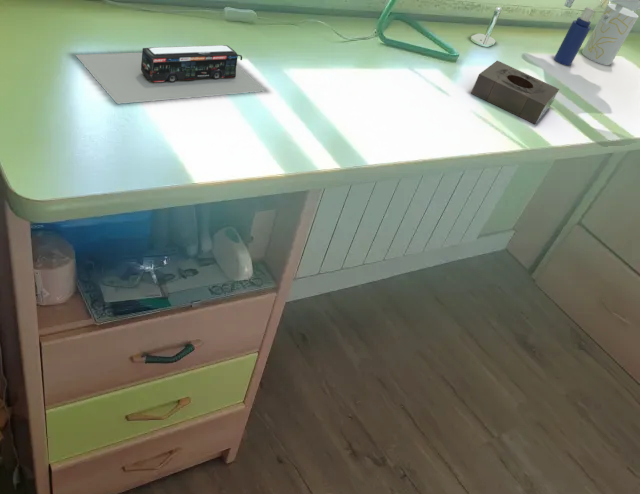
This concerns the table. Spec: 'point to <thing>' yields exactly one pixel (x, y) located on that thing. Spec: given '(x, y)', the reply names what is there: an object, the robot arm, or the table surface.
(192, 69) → the toy bus on base
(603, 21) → the robot arm
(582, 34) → the bottle
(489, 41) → the stand
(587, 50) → the cup
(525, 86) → the block
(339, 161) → the table surface
